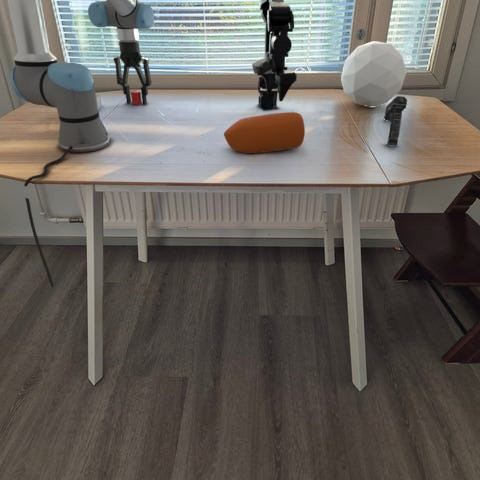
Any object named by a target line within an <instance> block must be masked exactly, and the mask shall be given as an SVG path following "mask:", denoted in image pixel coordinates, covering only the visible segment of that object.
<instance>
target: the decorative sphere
mask: <svg viewBox="0 0 480 480" xmlns="http://www.w3.org/2000/svg"><path fill="white" fill-rule="evenodd" d="M407 72H408V71H407V68H406V65H405V61H404V57H403V55H402V54H401V52H400V51H398V49H397V48H396V47H395V46H394V44H392V43H389V42H382V41H376V40H371V41H369V42H367V43H364V44H361V45H358V46H357V47H356V48H355V49H354V50H353V51H352V52H351V53H350V54H349V55H348V57H347V58H346V59H345V60H344V63H343V66H342V71H341V74H340V75H341V76H340V82H341V85H342V89H343V90H342V91H343V93H344V95H345V96H346V97H348V98H349V100H351V101H352V102H353V101H354V102H353V103H355V104H356V105H359V106H362V105H367V106H376V107H369V109H374V108H377V107H379V106H382V105H384V104H387V103H389V102H390V101H391V100H392V99H394V98H395V96H396V95H397V94H398V93H399V92H400V91H401V90H402V87H403V84H404V82H405V78H406V75H407ZM381 104H382V105H381ZM378 105H379V106H378ZM367 106H365V107H366V108H368V107H367Z"/></svg>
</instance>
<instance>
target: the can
mask: <svg viewBox="0 0 480 480" xmlns="http://www.w3.org/2000/svg"><path fill="white" fill-rule="evenodd" d="M130 96H131V104H132V105H133V106H140V105H143V101H142V93H141V90H137V89H135V90H134V89H133V90H130Z"/></svg>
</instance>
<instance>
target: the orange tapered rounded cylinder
mask: <svg viewBox="0 0 480 480" xmlns="http://www.w3.org/2000/svg"><path fill="white" fill-rule="evenodd" d="M305 126H306V125H305V121H304V118H303V116H302V114H301V113H299V112H295V111H288V112H287V111H285V112H275V113H274V112H273V113H267V114H260V115H254V116H253V115H252V116H248V117H243V118H241V119H238V120H236V122H234V123H233V124H232V125H230V126H229V127H228V128H226V129H225V131H224V132H223V137H224V140H225V141H226V143H227V144H228V146H229V147H230V148H231V149H233V150H234V151H237V152H240V153H243V154H257V153H258V154H259V153H268V152H276V151H285V150H289V149H296V148H298V147H301V145H302V144H303V142H304V139H305V134H306V127H305Z"/></svg>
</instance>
